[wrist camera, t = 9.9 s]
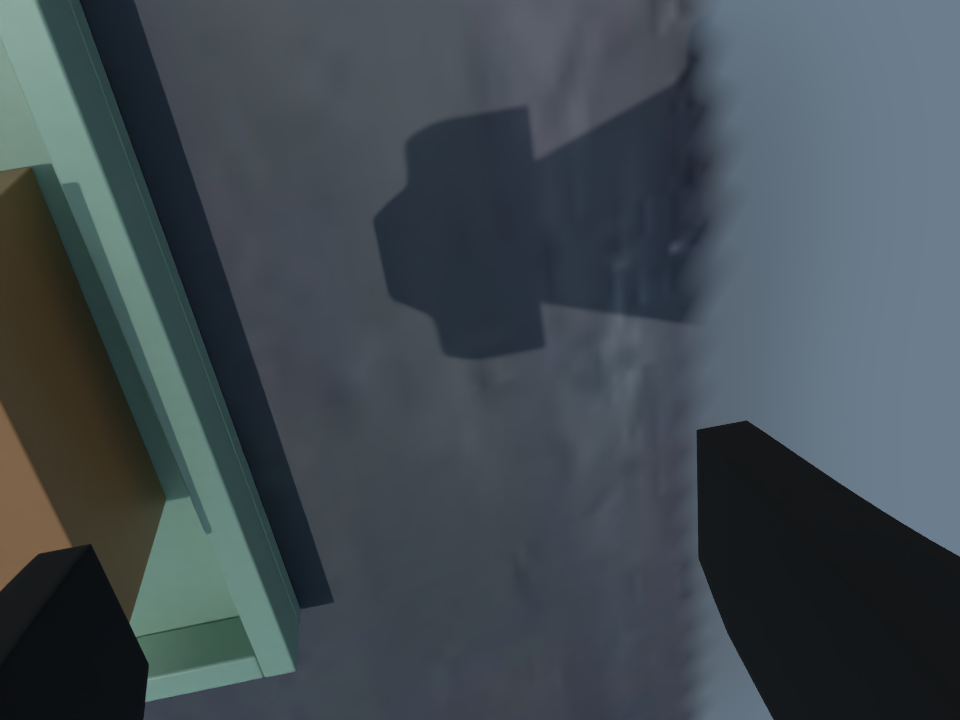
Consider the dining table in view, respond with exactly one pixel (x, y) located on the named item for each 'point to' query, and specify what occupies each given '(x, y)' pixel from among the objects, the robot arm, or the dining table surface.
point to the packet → (63, 412)
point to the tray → (149, 364)
